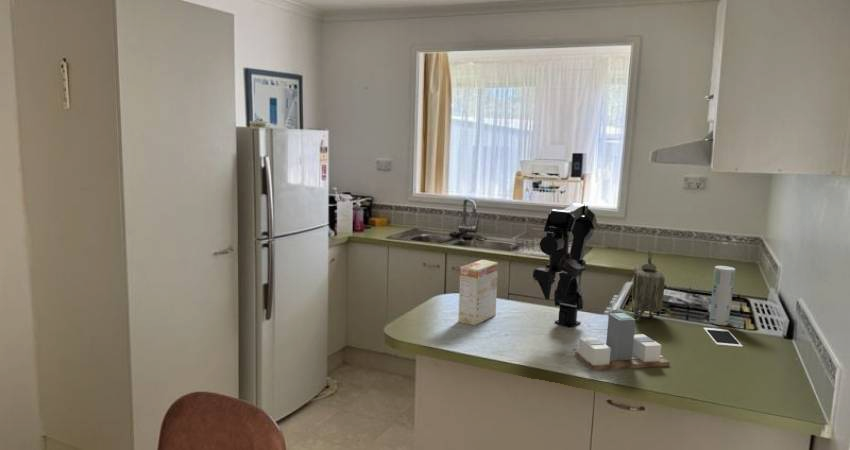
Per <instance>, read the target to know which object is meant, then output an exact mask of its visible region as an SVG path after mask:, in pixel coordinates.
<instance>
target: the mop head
mask: <svg viewBox="0 0 850 450" xmlns="http://www.w3.org/2000/svg"><path fill="white" fill-rule="evenodd" d="M647 257H648V258H647V262H644V263H643V264H642V265H641V266H639V267H638V266H636V267H634V270H633V273H634V274H633V281H632V284H633V285H632V293H631V306H632V310H633V312H634V313H639V315H638V317H636V322H641V320H642V319H641V317H642V315H643V314H644V313H645V312H648V313H649V314H648V318H649V319H650V320H653V318H654V314H652V313H658V312H660V311H662V309H663V304H664V302H663V301H664V293H665V291H664V290H665V283H666V282H665V275H664V273H663V272H662V271H660V270H659V269H657V266H656V265H655V263H654V262H652V259H653V252H652V249H649V250H648V255H647Z"/></svg>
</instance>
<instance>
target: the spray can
mask: <svg viewBox="0 0 850 450" xmlns="http://www.w3.org/2000/svg"><path fill="white" fill-rule="evenodd" d="M735 277H736V268H735V267H733V266H728V265H727V266H726V265H715V266H714V271H713V281H712V289H711V290H712V292H711V300H710V308H709V309H710V310H709V317H708V319H709V320H708V321H709V323H711V324H714V325H719V326H727V325H729V322H730V315H731V307H732V301H733V291H734V283H735Z"/></svg>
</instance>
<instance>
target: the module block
mask: <svg viewBox="0 0 850 450" xmlns="http://www.w3.org/2000/svg"><path fill="white" fill-rule="evenodd" d="M636 322H637V321H636V319H635V318H634V317H632V316H631V315H629V314H627V313H625V312H617V313H615V312H613V313H608V320H607V329H606V330H607V332H606V343H605V344H606V345H607V346H609V347H610V348H611V351H610V356H611V357H612V358H613V359H615V360H616V361H617V360H632V354H633V343H634V335H635V330H636Z"/></svg>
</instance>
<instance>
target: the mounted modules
mask: <svg viewBox="0 0 850 450" xmlns="http://www.w3.org/2000/svg"><path fill="white" fill-rule="evenodd" d="M578 341H579V342H578V351H577V352H578V353H579V354H580V355H582V356H584V357H585V358H586V359H587V360H589V361H590V363H591V364H592V365H605V364H609V363H610V351H611V348H610V347H609V346H607V345H606V343H605V342H603V341H602V340H600V339H598V337H596V336H587V337H586V336H584V337H583V336H581V337H579V338H578ZM661 351H662V344H660V343H659V342H657V341H655V340H654V339H652V338H651V337H649V336H647V335H645V334H644V333H641V334H639V333H638V334H634V343H633V354H635V355H636V356H638V357H639V358H640V359H641V360H642V361H644V362H652V361H660V355H661Z"/></svg>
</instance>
